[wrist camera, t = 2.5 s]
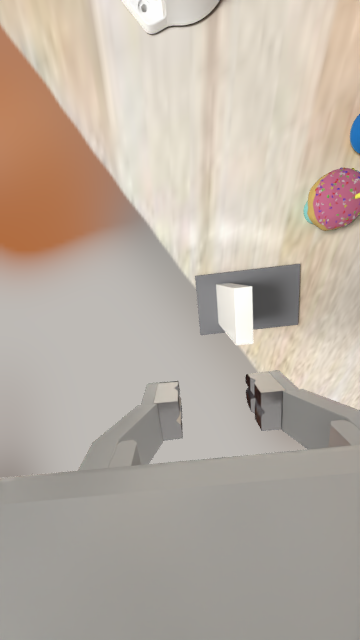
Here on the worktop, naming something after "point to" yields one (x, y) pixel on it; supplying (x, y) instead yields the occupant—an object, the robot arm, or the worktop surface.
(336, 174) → the cupcake
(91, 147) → the worktop surface
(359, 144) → the beverage can
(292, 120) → the worktop surface
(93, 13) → the worktop surface
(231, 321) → the tile
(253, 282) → the mat
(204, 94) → the worktop surface
